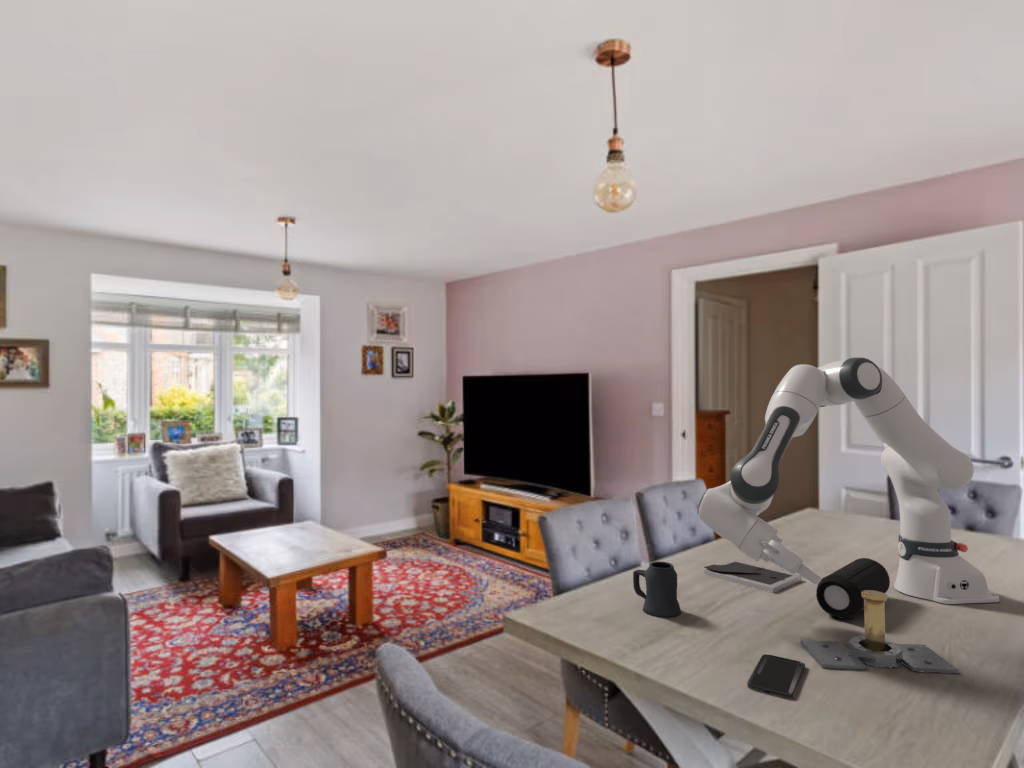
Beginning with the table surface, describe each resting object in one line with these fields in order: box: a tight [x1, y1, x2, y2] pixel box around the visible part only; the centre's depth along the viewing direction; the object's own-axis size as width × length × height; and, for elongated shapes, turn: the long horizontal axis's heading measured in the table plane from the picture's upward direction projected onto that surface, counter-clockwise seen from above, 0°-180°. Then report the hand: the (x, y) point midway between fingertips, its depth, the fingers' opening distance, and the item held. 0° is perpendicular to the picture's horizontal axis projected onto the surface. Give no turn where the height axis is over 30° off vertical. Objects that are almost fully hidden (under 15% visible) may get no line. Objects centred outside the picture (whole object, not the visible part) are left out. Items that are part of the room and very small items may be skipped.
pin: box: [861, 590, 888, 652], centre depth 120 cm, size 4×4×13 cm
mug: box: [632, 561, 682, 619], centre depth 147 cm, size 12×9×11 cm
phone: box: [746, 653, 806, 700], centre depth 112 cm, size 8×1×15 cm
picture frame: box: [703, 559, 802, 593], centre depth 171 cm, size 16×3×21 cm
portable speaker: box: [815, 557, 891, 619], centre depth 148 cm, size 26×10×10 cm, turn 132°
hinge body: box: [800, 636, 959, 675], centre depth 120 cm, size 24×11×2 cm, turn 84°
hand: (819, 581), depth 131 cm, fingers open, 8 cm apart
